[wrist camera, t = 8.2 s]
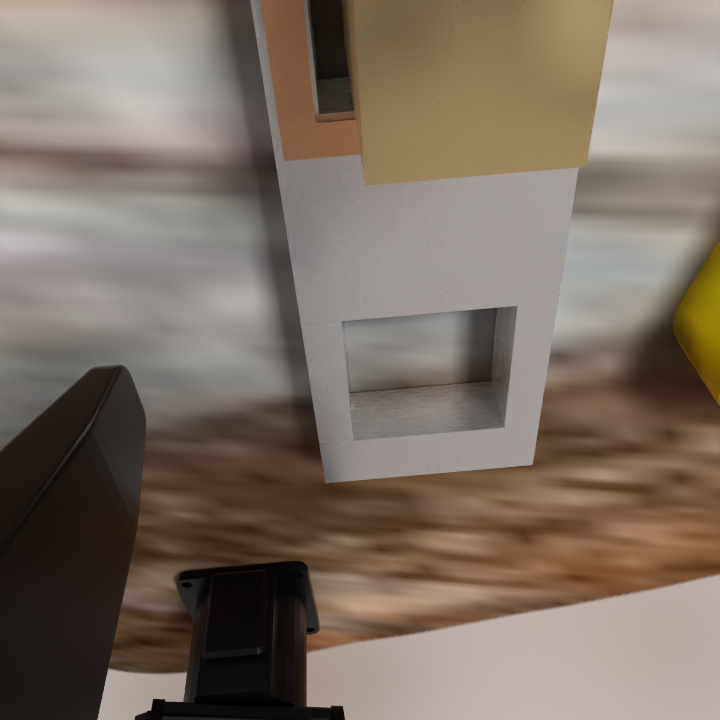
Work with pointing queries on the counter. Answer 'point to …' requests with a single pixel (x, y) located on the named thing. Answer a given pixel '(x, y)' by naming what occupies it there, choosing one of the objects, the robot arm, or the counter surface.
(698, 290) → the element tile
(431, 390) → the rail bar
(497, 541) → the counter surface
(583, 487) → the counter surface
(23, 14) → the counter surface
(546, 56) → the brass peg
